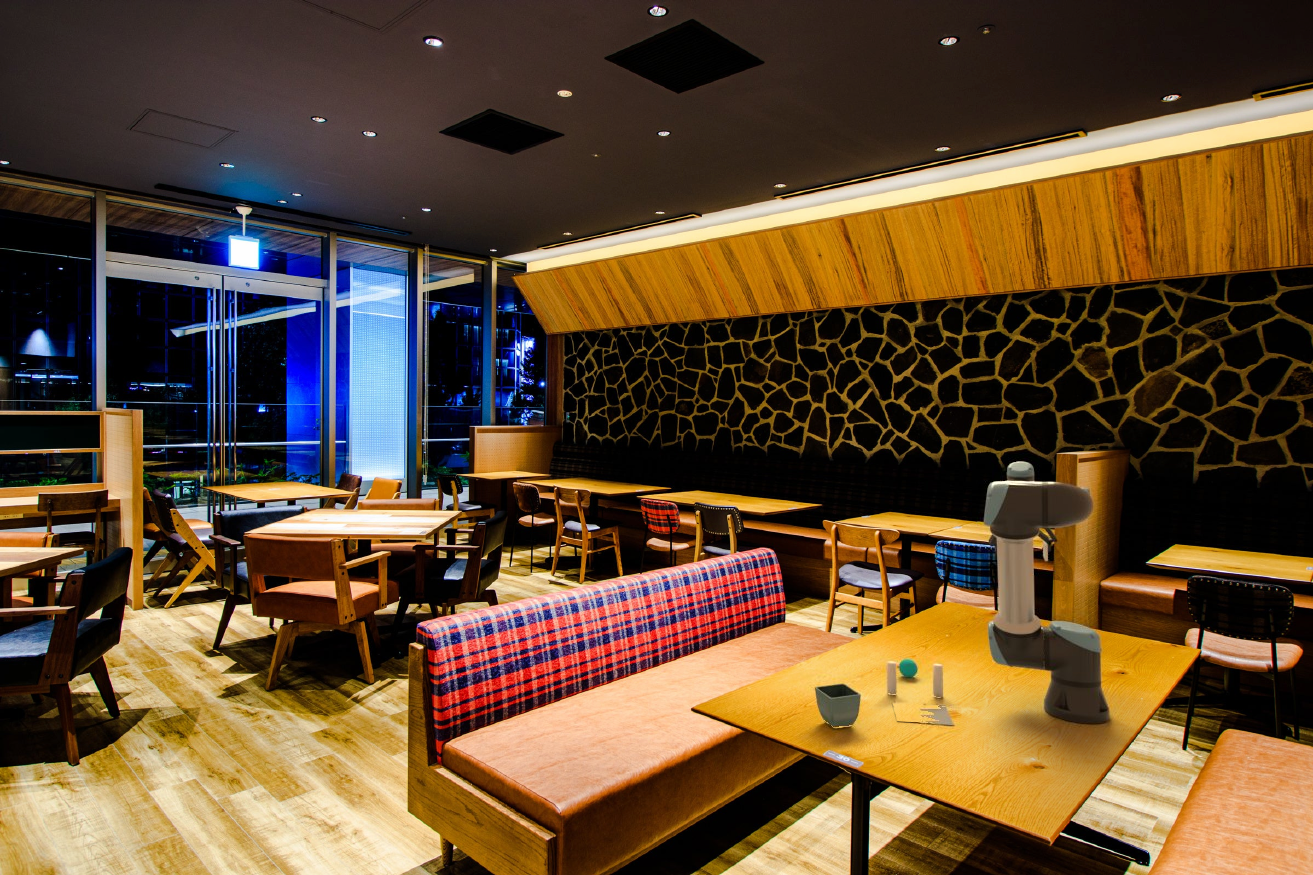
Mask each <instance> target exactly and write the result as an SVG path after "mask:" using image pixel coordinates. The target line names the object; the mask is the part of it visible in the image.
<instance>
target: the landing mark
mask: <svg viewBox="0 0 1313 875" xmlns="http://www.w3.org/2000/svg"><path fill="white" fill-rule="evenodd" d="M938 705H939V706H938V707H940V708H941V709H920V710H921V711H928V712H932V713H934V715H921V716H922V717H924V716H926V717H928V718H932V719H935V720H939V721H926V722H928V723H930V722H932V723H934V724H941V725H940V726H948V725H951V726H950V727H954V726H955V724H954V721H953V720H952V717H951V715H950V713H949V711H948V709H947V707H946V705H945V704H938ZM942 706H945V707H942ZM930 716H931V717H930ZM922 722H923V721H922ZM934 724H933V725H934ZM953 725H954V726H953Z"/></svg>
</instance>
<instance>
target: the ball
mask: <svg viewBox="0 0 1313 875" xmlns="http://www.w3.org/2000/svg"><path fill="white" fill-rule="evenodd" d="M898 671H899V673H900V674H901V675H902V676H903V677H905V678H909V677H910V678H913V677H915V676H916V675H917V674H918V664H917V663H916V662H915V661H914V660H913V659H910V658H904V659H902V660H901V661H900V662H899V663H898Z"/></svg>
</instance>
